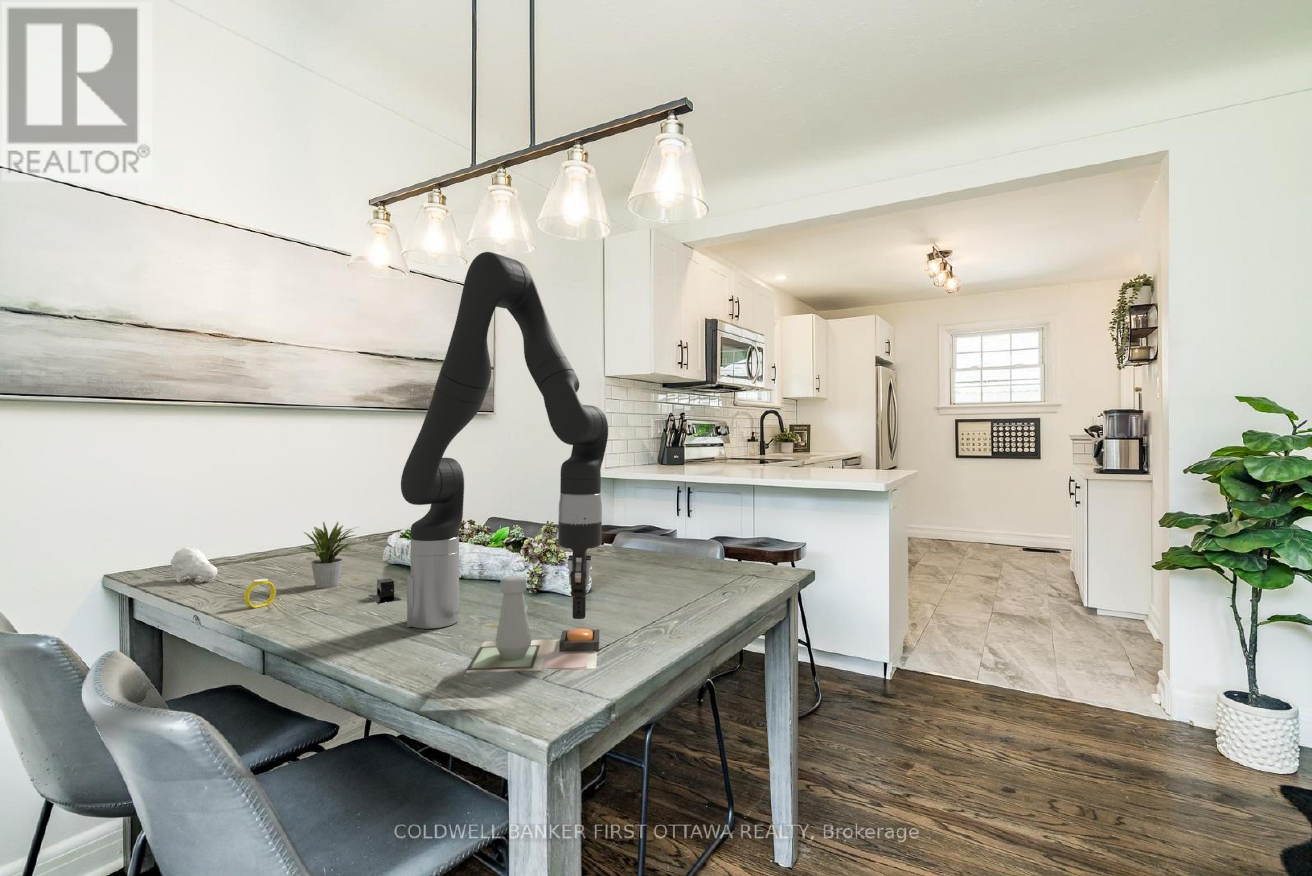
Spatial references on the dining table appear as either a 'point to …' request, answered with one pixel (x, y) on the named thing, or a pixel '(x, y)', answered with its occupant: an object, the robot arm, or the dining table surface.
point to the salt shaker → (513, 620)
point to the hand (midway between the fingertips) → (579, 617)
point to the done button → (580, 635)
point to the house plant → (327, 556)
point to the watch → (255, 582)
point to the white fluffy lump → (192, 565)
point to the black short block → (385, 591)
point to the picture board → (540, 656)
